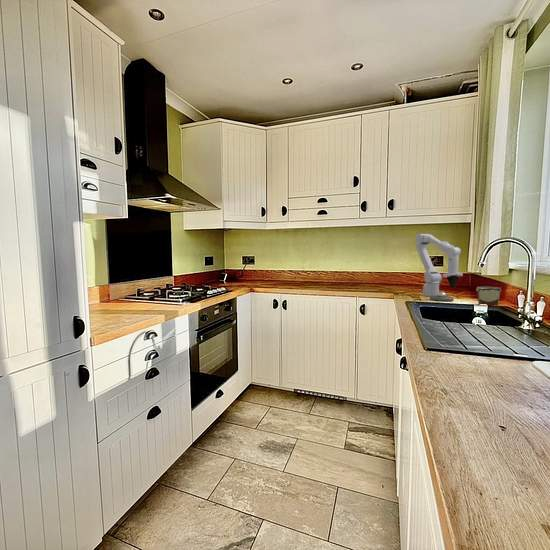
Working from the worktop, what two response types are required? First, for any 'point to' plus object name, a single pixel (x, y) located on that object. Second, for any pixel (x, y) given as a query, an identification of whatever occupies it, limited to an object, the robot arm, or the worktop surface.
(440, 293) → the cover
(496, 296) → the food container
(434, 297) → the turntable
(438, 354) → the worktop surface
